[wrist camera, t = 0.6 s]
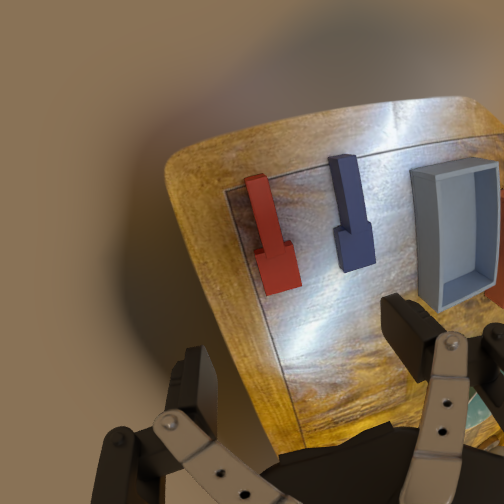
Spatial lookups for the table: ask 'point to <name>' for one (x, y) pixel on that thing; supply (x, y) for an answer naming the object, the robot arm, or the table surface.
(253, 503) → the robot arm
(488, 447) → the lamp
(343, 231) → the blue bar
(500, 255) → the red bin
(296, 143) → the table surface
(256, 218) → the red stepped block
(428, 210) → the blue bin
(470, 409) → the bowl
